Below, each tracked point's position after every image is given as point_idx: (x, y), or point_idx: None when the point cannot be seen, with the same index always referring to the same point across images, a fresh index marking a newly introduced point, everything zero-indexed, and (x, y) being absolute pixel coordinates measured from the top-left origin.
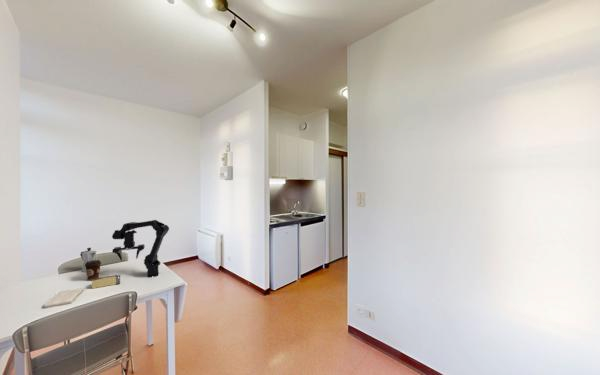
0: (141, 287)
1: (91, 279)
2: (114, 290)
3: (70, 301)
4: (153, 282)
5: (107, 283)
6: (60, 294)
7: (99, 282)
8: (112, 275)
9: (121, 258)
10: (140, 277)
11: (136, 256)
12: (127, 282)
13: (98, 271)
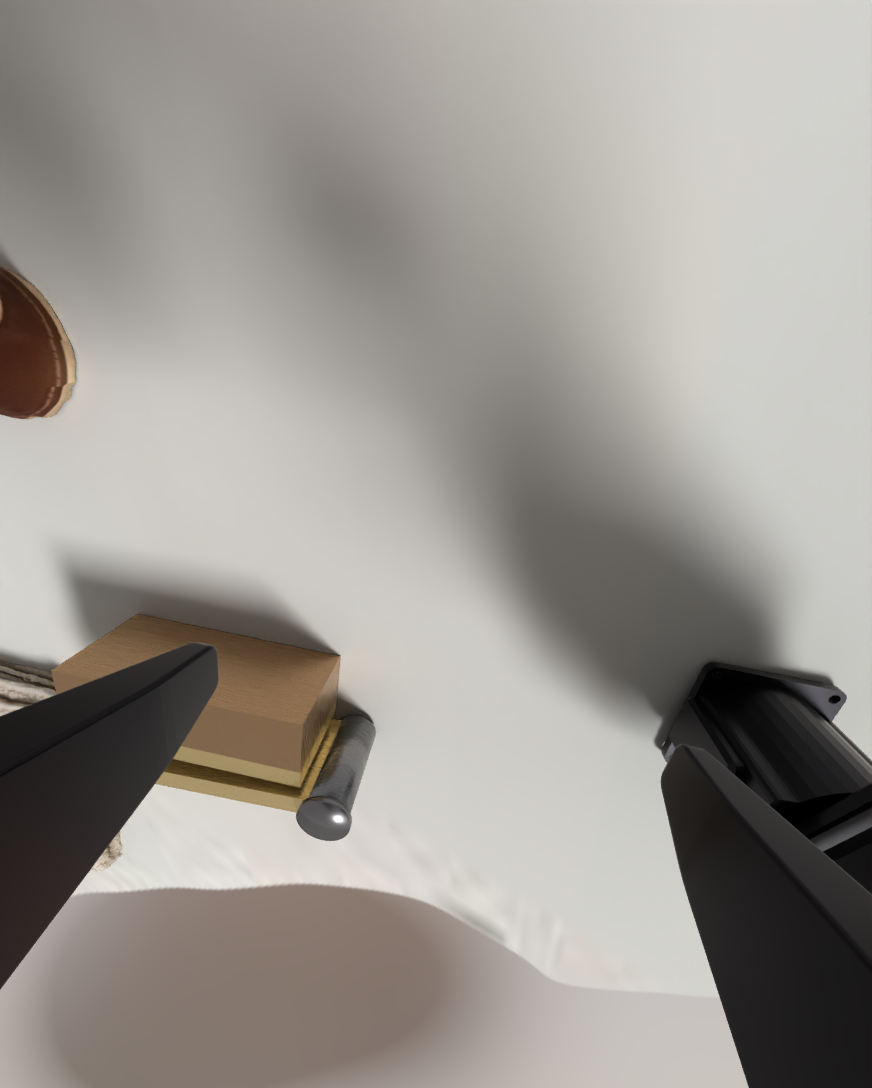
0: (550, 912)
1: (4, 414)
2: (349, 836)
3: (103, 868)
4: (666, 890)
5: None
6: None
7: None
8: (248, 716)
9: (147, 792)
10: (585, 694)
11: (707, 939)
12: (443, 744)
13: None
